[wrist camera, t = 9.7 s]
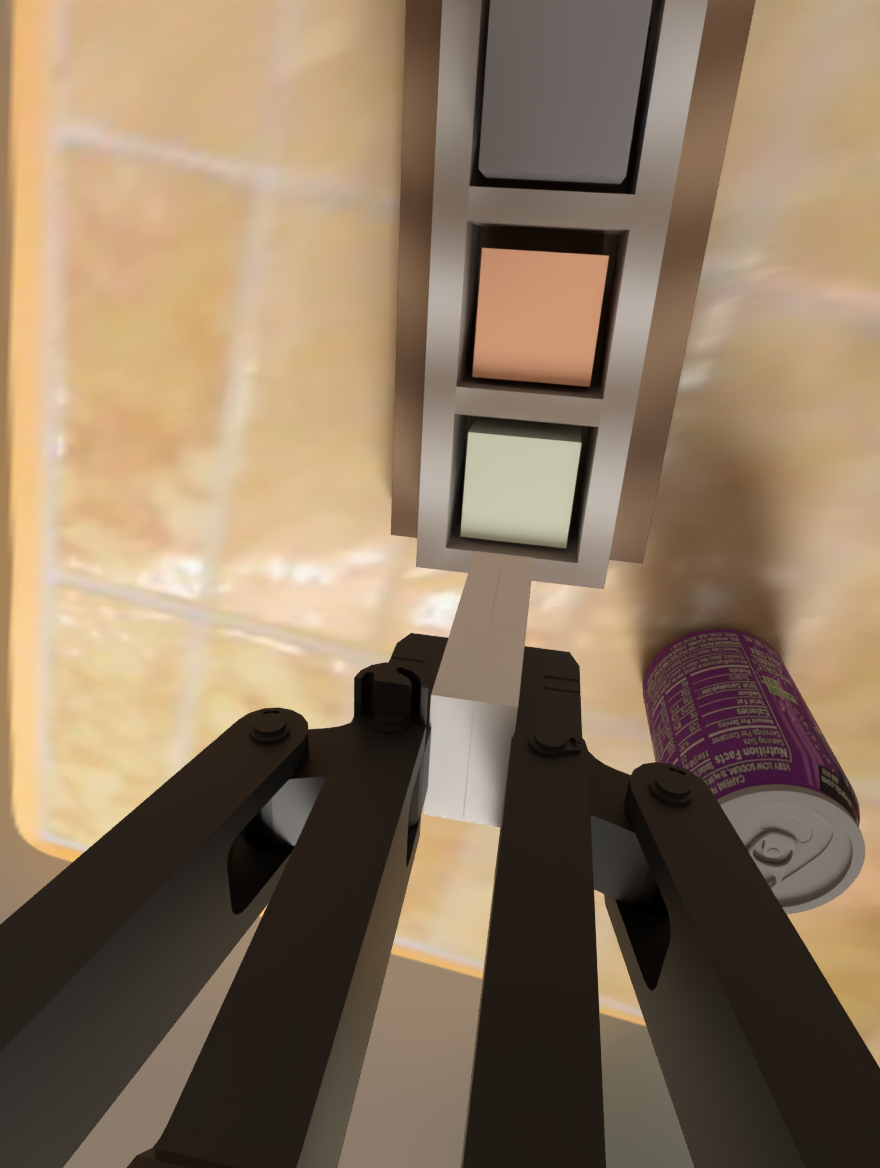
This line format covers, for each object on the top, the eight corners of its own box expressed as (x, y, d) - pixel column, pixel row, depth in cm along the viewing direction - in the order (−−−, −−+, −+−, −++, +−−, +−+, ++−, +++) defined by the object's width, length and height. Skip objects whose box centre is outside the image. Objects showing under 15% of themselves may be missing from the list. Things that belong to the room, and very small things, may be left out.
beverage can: (740, 753, 38) (810, 947, 27) (619, 708, 38) (641, 884, 27) (811, 651, 35) (923, 824, 24) (679, 601, 35) (731, 752, 24)
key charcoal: (500, 18, 22) (491, -17, 19) (643, 22, 21) (654, -14, 18) (488, 179, 24) (478, 169, 21) (618, 186, 23) (626, 175, 20)
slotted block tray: (426, -258, 23) (380, -432, 17) (797, -268, 22) (883, -462, 16) (399, 521, 35) (367, 571, 29) (638, 547, 34) (653, 606, 28)
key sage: (476, 416, 30) (468, 432, 27) (579, 426, 29) (581, 442, 26) (468, 513, 32) (460, 536, 29) (565, 523, 31) (565, 548, 28)
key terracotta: (490, 249, 27) (482, 247, 24) (604, 256, 26) (608, 255, 24) (480, 366, 29) (472, 376, 26) (587, 375, 28) (589, 386, 26)
